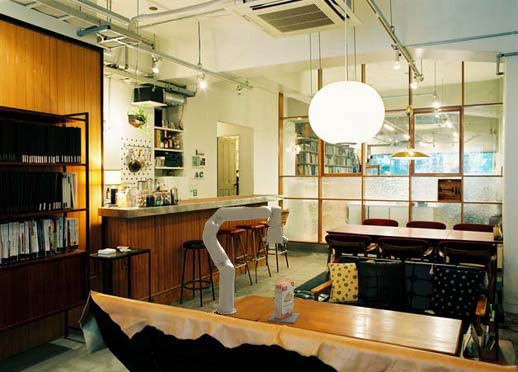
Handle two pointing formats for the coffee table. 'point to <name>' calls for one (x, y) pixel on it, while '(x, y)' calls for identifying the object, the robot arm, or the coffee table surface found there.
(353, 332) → the coffee table surface
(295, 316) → the slate mat
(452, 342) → the coffee table surface
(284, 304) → the cracker box
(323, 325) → the coffee table surface
